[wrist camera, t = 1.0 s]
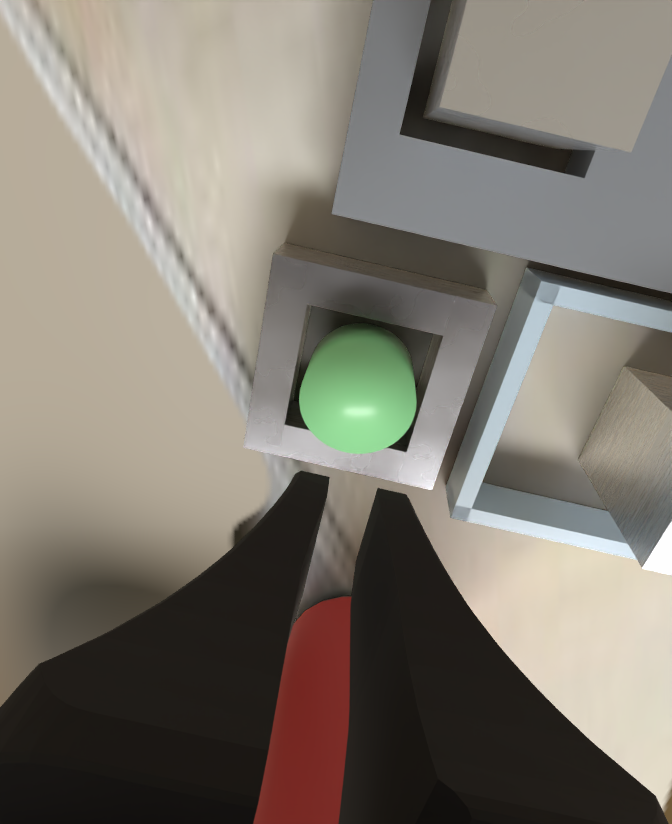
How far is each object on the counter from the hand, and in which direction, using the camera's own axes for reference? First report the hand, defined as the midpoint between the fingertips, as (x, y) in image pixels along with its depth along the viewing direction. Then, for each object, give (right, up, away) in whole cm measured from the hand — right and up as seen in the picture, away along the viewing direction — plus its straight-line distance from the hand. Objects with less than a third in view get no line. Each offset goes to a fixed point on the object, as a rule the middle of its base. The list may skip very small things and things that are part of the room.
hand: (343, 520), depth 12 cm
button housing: (+1, +4, +8) cm, 9 cm away
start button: (+1, +4, +7) cm, 8 cm away
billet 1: (+5, +12, +4) cm, 14 cm away
